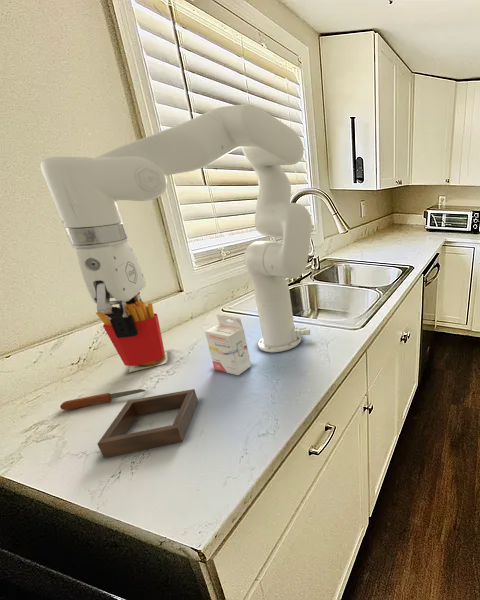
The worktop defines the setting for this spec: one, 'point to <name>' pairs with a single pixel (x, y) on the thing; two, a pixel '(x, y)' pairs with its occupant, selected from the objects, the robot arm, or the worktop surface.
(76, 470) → the worktop surface
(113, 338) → the french fries
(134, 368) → the condiment
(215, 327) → the ink cartridge box
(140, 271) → the robot arm
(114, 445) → the holder
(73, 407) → the kitchen knife
